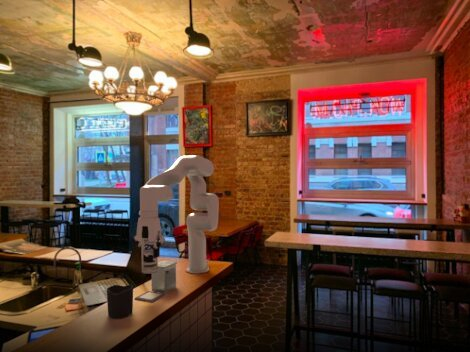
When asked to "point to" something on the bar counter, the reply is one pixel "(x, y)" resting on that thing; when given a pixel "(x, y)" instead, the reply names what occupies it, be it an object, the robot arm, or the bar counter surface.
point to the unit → (164, 277)
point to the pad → (150, 296)
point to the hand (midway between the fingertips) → (149, 256)
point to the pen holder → (120, 301)
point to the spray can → (148, 253)
